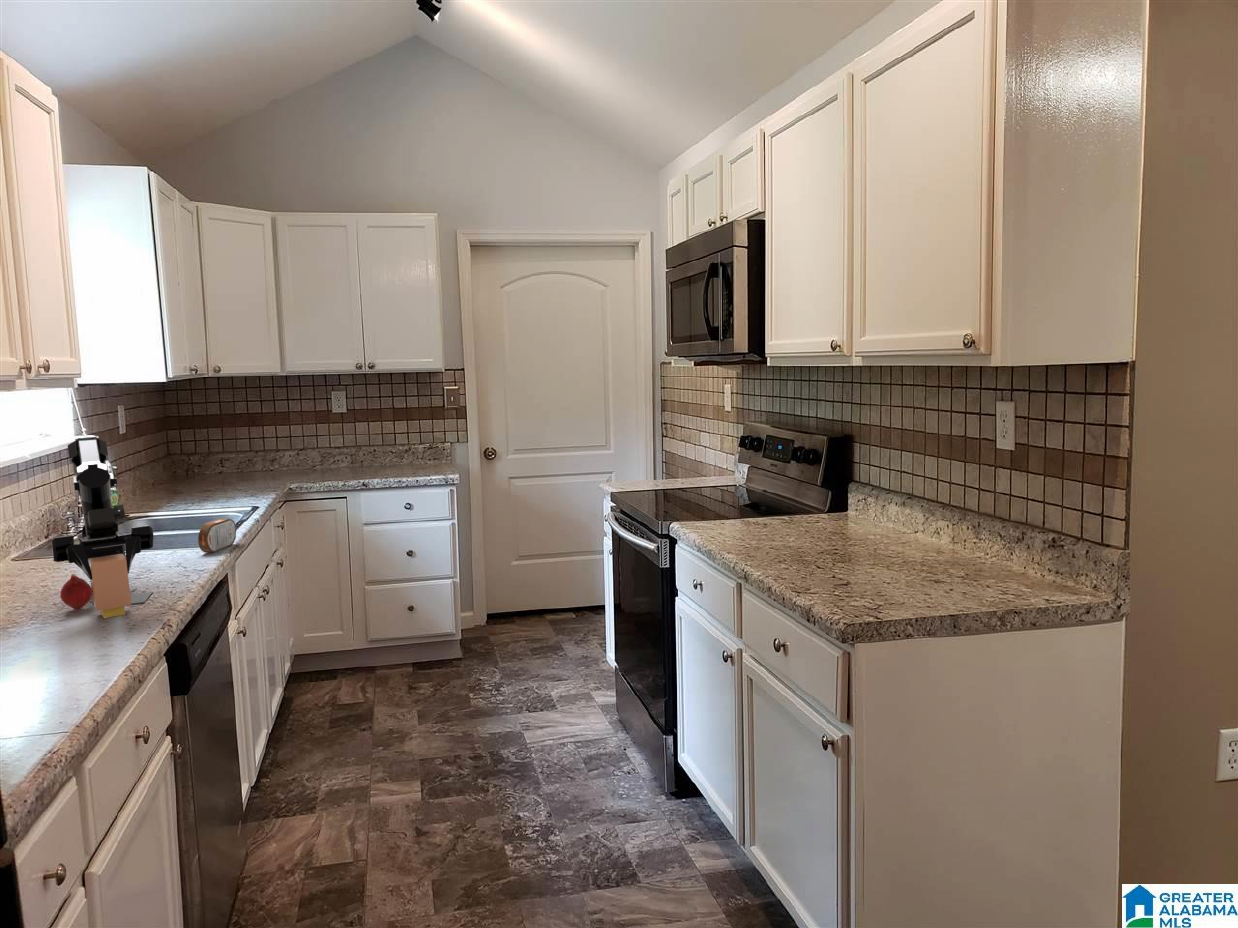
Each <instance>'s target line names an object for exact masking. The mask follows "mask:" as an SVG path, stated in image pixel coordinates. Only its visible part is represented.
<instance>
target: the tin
mask: <svg viewBox="0 0 1238 928" xmlns="http://www.w3.org/2000/svg"><path fill="white" fill-rule="evenodd" d="M236 525H237V524H236V523H235V521H234V519H232V518H225V517H219V518H217V519H214V520H211V521H207V522H205V523H204V524H203V525H202V526H201V527H200V529H199V532H198V537H197V543H198V547H199V549H200V551H201V552H203V553H205V554H206V553H207V554H208V553H211V554H212V553H217V552H219V551H222V550H225V549H226V548H229V547H231V546H232V545H233V544H234V543H235V541H236V537H237V527H236Z"/></svg>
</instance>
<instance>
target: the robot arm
mask: <svg viewBox="0 0 1238 928" xmlns="http://www.w3.org/2000/svg"><path fill="white" fill-rule="evenodd" d="M67 452H68V453H67V454H68V463H69V465H73V473H74V474H75V475H73V485H74V493H78V495H79V497H80V498H81V500H80V504H81V509H82V516H83V522H84V525H83V527H82V530H81V538H82V539H80V538H74V534H68V535H62V536H61V535H60V536H54V537H53V538H52V539H51V540H50V541H51V548H52V550H51V551H52V556H53V557H52V558H53V562H56V563H61V562H62V563H63V562H68V563H69V564H75V565H76V566H77V567H78V568H80V569H81V571H83V573H84V574H85V575H86V577H87V578H88V579H89V581H90V587H91V589H92V583H91V579H92V573H91V568H90V565H89V558H95V557H102V556H109V555H116V554H123V555H124V556H125V558H126V562H127V571H128V575H129V574H130V571H131V566H132V563H133V560H134V559H135V556H136V555H137V554H140V553H141V552H142V551H144V550H145V551H146V550H151V549H152V548H154V531H153V527H152V526H150V525H149V524H147V525H146V524H145V525H138V526H131V527H130V528H131V529H130V533H128V534H127V533H126V534H121V535H118V534H119V533H118V532H119V526H118V522H123V521H125V520H126V513H125V512H126V511H125V508H124V504H115V505H113V503H112V499H111V496H112V491H111V490H112V489H114V488H115V486H116V485H117V484H118V479H117V477H116V476H115V475H114V474H113V472H110V471H109V468H108V465H107V463H106V461H107V462H109V450H108V443H107V441H105V440H103V439H100V437H99V436H97V435H89V436H88V435H87V436H78V437H75V438H74V441H72V442H70V443H69V444H67ZM92 592H93V591H92Z"/></svg>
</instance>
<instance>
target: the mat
mask: <svg viewBox="0 0 1238 928" xmlns="http://www.w3.org/2000/svg"><path fill="white" fill-rule="evenodd" d="M152 593H153V594H154V592H153V591H148V592H138V593H137V592H136V593H130V597H131V605H130V606H132V605H142V604H145V603H146V602H147V600H148V599H150V597H151V596H152V595H151V594H152ZM150 595H151V596H150ZM149 596H150V597H149Z"/></svg>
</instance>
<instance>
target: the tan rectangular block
mask: <svg viewBox="0 0 1238 928" xmlns="http://www.w3.org/2000/svg"><path fill="white" fill-rule="evenodd" d="M125 557H126V555H125V556H124V555H123V554H116V555H109V556H102V557H95V558H89V565H90V568H91V573H92V579H91V581H90V584H91V583H92V591H93V593H92V598H93V599H92V600H93V605H94V608H95V611H96V612H99V611H102V610H106V609H112V608H117V607H123V606H125V607H128V606H132V605H131V597H130V594H131V590H130V589H131V587H130V581H129V574H128V571H127V562H126V558H125Z"/></svg>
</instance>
